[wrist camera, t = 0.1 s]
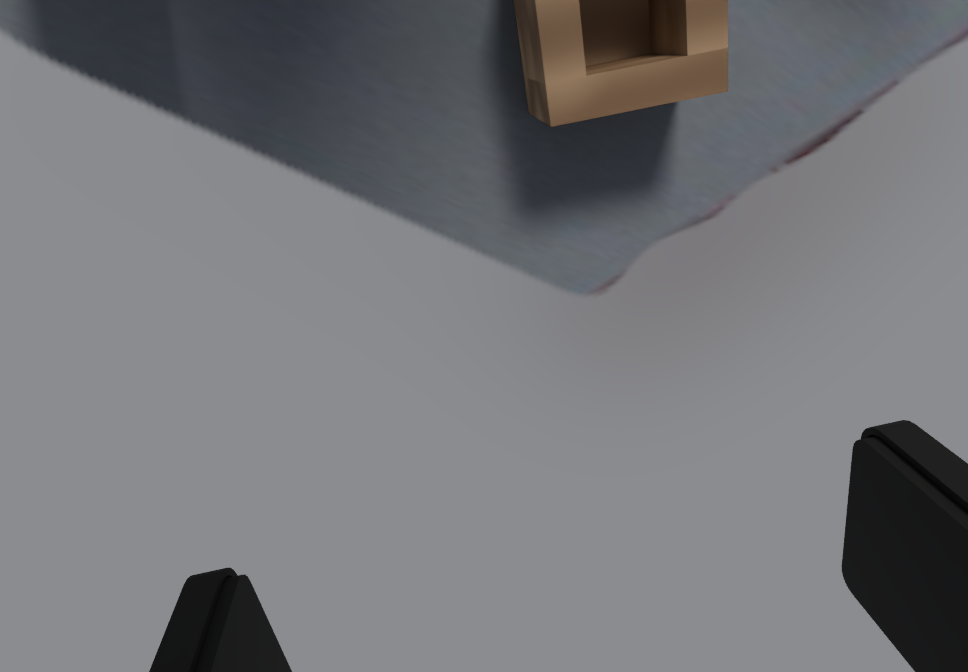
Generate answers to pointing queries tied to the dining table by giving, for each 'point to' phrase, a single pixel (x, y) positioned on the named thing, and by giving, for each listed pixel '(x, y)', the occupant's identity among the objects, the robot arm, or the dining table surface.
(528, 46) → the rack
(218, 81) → the dining table surface
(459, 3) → the dining table surface
